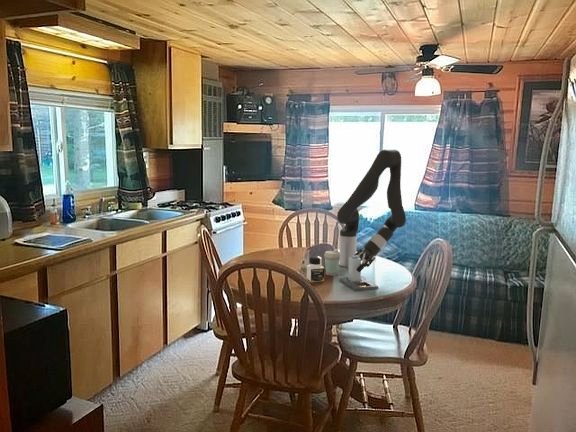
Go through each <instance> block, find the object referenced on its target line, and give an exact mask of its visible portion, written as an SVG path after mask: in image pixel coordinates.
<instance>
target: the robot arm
mask: <svg viewBox="0 0 576 432" xmlns="http://www.w3.org/2000/svg"><path fill="white" fill-rule="evenodd" d="M388 168H389V176H390V177H389V182H388V185H387V189H386V200H387V207H388V209H390V213H391V215H389V216H388V218H386V220H385V221H384V223H383V225H382V226H381V227H380V228H379V229H378V230H377V232H376V233H374V234H373V235H372V236H371V238H370V239H369V240H368V241H367V242H366V243H365V244H364V246H363V248H364V249H363V250H362V249H361V248H360V249H358V250H357V233H358V230H359V222H360V213H359V210H358V208H359V207H360V206H362V205H364V204H365V203H366V202H367V201H370V199H371V198H372V197H373V196H374V194H375V192H376V191H377V190H378V188H379V183H380V182H379V180H380V177H381V175H382V174H383V173H384V171H386V169H388ZM401 174H402V155H401V153H400V151H399V150H398V149H392V148H389V149H388V148H385V149H381V150H380V151H379V152H378V154H377V155H376V157H375V158H374V161H373V163H372V164H371V167H370V168H369V169H368V171H366V173H365V175H364V176H363V177H362V179H361V180H360V182H359V183H358V185H357V186H356V189H354V191H353V192H352V194H351V195H350V197H348V199H347V200H346V201H345V203H343V205H342V206H341V207H340V208H339V210H338V211H337V213H336V214H337V215H336V216H337V217H336V219H337V221H338V223H340V224H343V225H345V226H344V227H342V228H341V229H340V231H339V253H340V259H339V266H340V267H345V268H349V258H351V257H352V256H356V255H357V256H358V258H360V259H361V264H360V266H359V267H358V268H357V269H356V270H357V271H358V272H361V273H362V270H364V268H369V267H370V266H371V265H372V263H373V262H374V261H375V259H376V257H377V255H378V254H379V253H381V250H383V249H384V247H385V246H386V244H387V243H388V242H389V241H390V240H391V239H392V238H393V236H394V233H395V231H396V230H397V229H398V228H403V227H404V226H405V225H406V222H407V217H406V213H405V209H404V207H403V201H402V200H403V199H402V189H401V179H402V178H401V177H402V175H401Z"/></svg>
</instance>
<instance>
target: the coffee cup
mask: <svg viewBox="0 0 576 432" xmlns="http://www.w3.org/2000/svg"><path fill="white" fill-rule="evenodd" d="M323 254H324V255H323V256H324V263H325V272H326V273H325V274H326V275H327V276H332V277H333V276H337V275H338V274H339V273H338V272H339V266H340V265H339V259H340V251H339V250H338V251H336V250H327V251H325V252H324V253H323Z"/></svg>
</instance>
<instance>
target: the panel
mask: <svg viewBox="0 0 576 432" xmlns="http://www.w3.org/2000/svg"><path fill="white" fill-rule="evenodd" d="M339 282H341V283H342V284H344V285H345V286H347V287H349V288H350V289H351V290H352V291H355V292H360V291H369V290H370V291H371V290H379V285H377V284H376V283H374V282H372V281H371V280H369V279H367V278H365V277H363V276H362V275H361V280H360V281H354V282H351V281H349V280H348V276H347V277H339Z"/></svg>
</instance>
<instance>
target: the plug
mask: <svg viewBox="0 0 576 432" xmlns="http://www.w3.org/2000/svg"><path fill="white" fill-rule="evenodd" d="M360 264H362V261H361V259H360V258H358V256H357V255H356V256H352V257H351V258H349V267H348V271H347V272H348V274H347V277H348V280H349V281H351V282H354V281H360V280H361V276H362V275H361V274H362V271H361V272H358V271H357V270H356V269H357V268H358V267H359V266H360Z"/></svg>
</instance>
